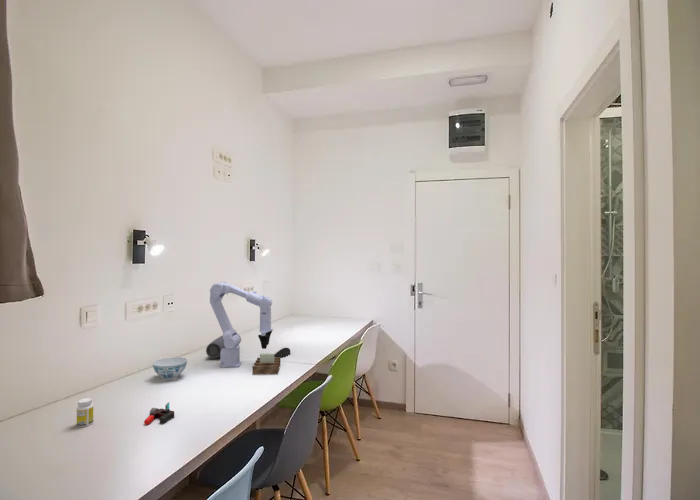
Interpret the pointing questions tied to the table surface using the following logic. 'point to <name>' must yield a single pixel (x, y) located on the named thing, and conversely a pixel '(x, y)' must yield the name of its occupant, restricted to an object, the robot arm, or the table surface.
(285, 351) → the hairbrush
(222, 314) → the robot arm
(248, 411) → the table surface
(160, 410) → the toy gun
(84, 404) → the supplement bottle
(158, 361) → the chinaware
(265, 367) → the dish rack
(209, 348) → the bluetooth speaker
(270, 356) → the pale green box
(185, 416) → the table surface
